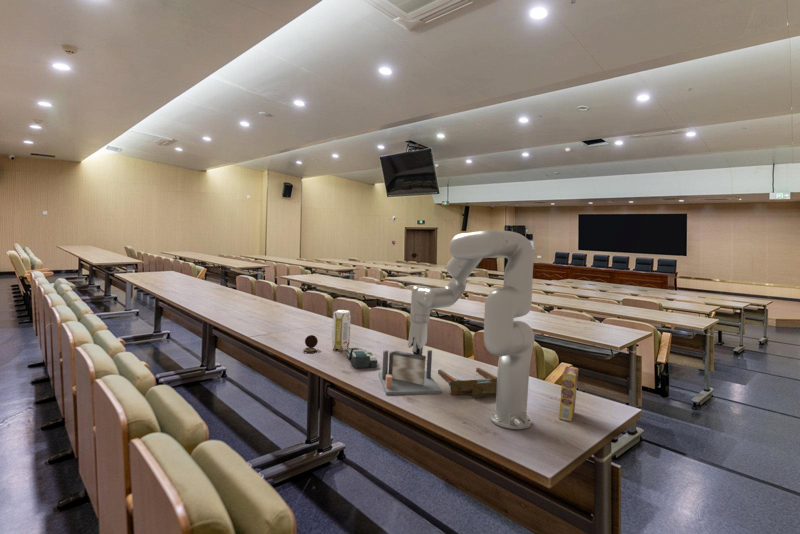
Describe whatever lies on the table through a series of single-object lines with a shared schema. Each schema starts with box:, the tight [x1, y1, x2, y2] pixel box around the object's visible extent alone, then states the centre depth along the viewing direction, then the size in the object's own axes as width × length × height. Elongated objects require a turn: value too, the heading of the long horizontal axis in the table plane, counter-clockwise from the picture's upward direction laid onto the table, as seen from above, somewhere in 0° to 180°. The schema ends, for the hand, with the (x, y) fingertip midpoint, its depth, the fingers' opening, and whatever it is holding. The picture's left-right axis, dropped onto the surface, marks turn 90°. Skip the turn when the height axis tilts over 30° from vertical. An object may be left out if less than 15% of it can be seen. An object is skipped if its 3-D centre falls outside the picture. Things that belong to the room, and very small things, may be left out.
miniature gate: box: [437, 367, 497, 399], centre depth 158 cm, size 27×6×30 cm
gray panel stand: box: [378, 349, 443, 396], centre depth 156 cm, size 22×20×12 cm
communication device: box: [345, 347, 378, 369], centre depth 184 cm, size 12×24×9 cm, turn 17°
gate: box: [388, 350, 427, 385], centre depth 155 cm, size 15×2×11 cm, turn 63°
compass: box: [302, 334, 321, 354], centre depth 196 cm, size 8×8×7 cm
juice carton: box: [331, 309, 352, 351], centre depth 202 cm, size 8×9×19 cm
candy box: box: [558, 366, 579, 422], centre depth 132 cm, size 9×4×15 cm, turn 151°
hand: (417, 364), depth 158 cm, fingers closed
